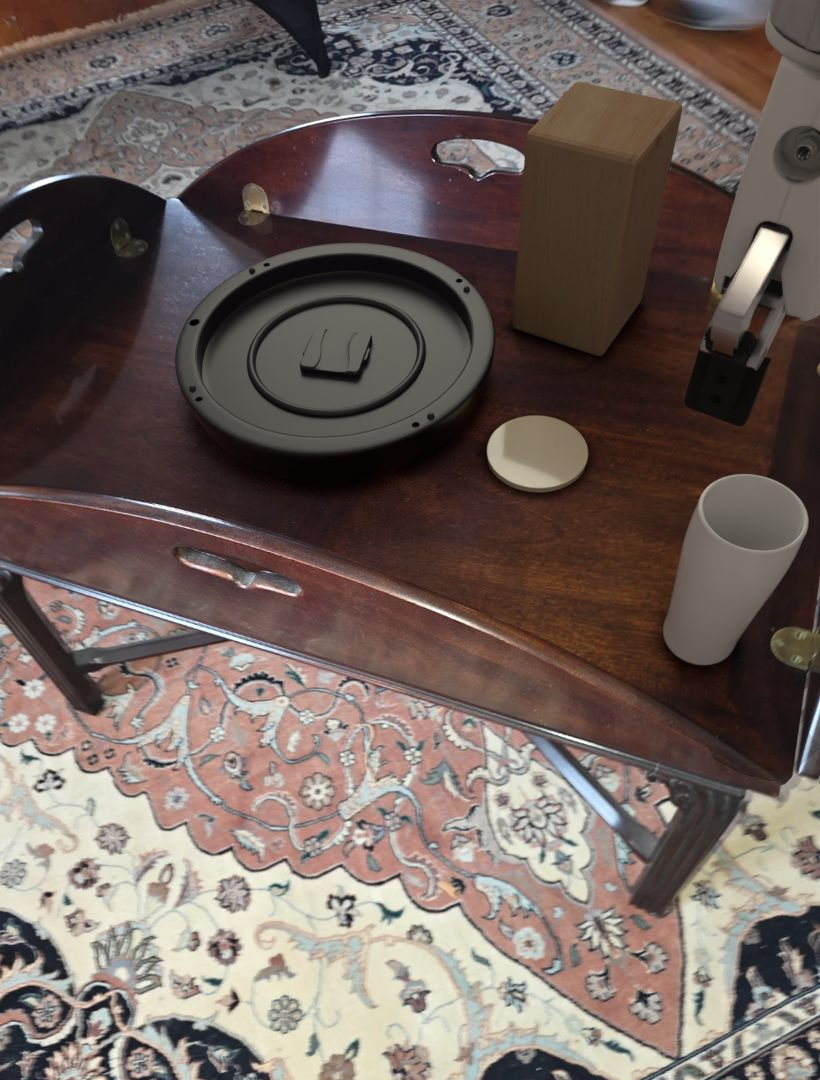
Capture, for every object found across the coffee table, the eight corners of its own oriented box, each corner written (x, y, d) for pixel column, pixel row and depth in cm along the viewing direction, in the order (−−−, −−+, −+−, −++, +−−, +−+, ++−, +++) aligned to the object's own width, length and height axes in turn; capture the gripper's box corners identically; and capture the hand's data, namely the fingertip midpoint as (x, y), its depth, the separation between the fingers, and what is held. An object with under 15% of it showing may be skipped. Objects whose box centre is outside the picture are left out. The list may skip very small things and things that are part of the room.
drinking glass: (690, 691, 65) (747, 571, 52) (633, 625, 68) (674, 497, 56) (762, 652, 66) (835, 526, 54) (703, 589, 70) (758, 457, 57)
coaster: (590, 424, 81) (591, 420, 80) (583, 497, 76) (584, 493, 75) (493, 415, 82) (493, 411, 82) (479, 486, 77) (480, 482, 77)
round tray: (509, 298, 92) (238, 280, 97) (513, 247, 87) (227, 230, 92) (469, 515, 76) (146, 479, 81) (470, 467, 71) (126, 432, 76)
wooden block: (642, 302, 90) (685, 101, 74) (601, 359, 86) (638, 159, 69) (553, 275, 94) (576, 78, 77) (509, 329, 89) (524, 132, 73)
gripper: (918, 121, 27) (758, 490, 41) (1052, -81, 35) (878, 290, 49) (688, 71, 30) (612, 432, 44) (857, -106, 37) (746, 251, 51)
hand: (752, 357), depth 46 cm, fingers open, 9 cm apart
